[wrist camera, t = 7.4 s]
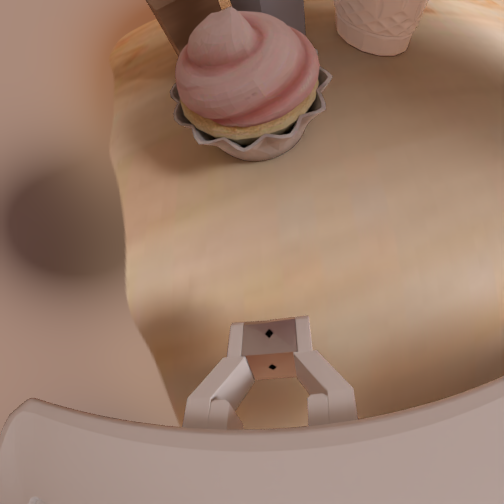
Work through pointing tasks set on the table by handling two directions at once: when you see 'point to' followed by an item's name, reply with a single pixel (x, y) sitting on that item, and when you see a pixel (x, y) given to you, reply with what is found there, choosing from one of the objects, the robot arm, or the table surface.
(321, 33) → the table surface
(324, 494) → the robot arm
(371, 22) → the white cup
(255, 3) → the slate-blue block
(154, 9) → the walnut block
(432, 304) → the table surface
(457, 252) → the table surface
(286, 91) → the cupcake
